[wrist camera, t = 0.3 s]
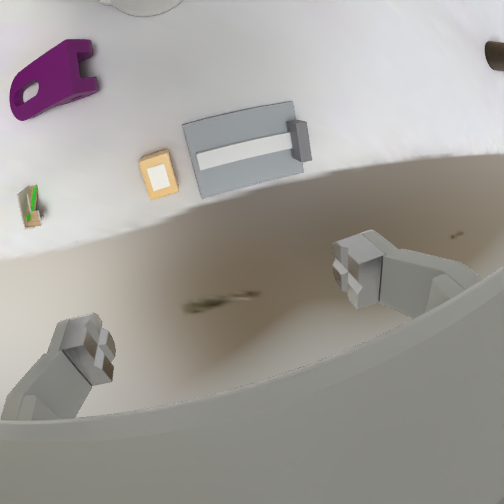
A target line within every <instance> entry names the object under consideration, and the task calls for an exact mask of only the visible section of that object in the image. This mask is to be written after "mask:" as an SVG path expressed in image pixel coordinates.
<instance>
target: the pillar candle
mask: <svg viewBox="0 0 504 504" xmlns="http://www.w3.org/2000/svg"><path fill="white" fill-rule="evenodd" d="M485 54H486V59H487V61H488V64H489V66H490V67H491V68H492V69H493V70H498V71H504V43H501V42H491V41H490V42H487V43H486V46H485Z"/></svg>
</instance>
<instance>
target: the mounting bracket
mask: <svg viewBox="0 0 504 504" xmlns="http://www.w3.org/2000/svg"><path fill="white" fill-rule="evenodd" d="M92 55H93V51H92V42H91V40H85V39H67V40H65V41H63V42H61V43H60V44H58V45H57V46H55V47H54V48H52V49H51V50H49V51H48V52H46V53H45V54H43V55H42V56H40V57H39V58H38V59H36V60H35V61H33V62H32V63H31V64H29V65H28V66H27V67H25V68H24V69H23V70H22V71H20V72H19V73H18V74H17V75H16V76H15V78H14V80H13V82H12V85H11V89H10V107H11V110H12V113H13V114H14V116H15V117H16V118H17V119H18V120H20V121H24V120H27V119H30V118H33V117H35V116H37V115H39V114H41V113H43V112H44V111H46V110H48V109H50V108H52V107H55V106H59V105H63V104H66V103H70V102H73V101H76V100H79V99H81V98H84V97H87V96H90V95H92V94H94V93H96V92H98V85H97V79H96V77H88V78H81V79H80V73H79V66H78V63H79V62H81V61H84V60H86V59H88V58H90V57H91V56H92ZM36 81H38V84H39V90H38V93H37V95H36V96H35V97H33V98H31V99H30V100H28V101H27V102H25V103H23V101H22V93H23V91H24V89H25V88H27V87H28V86H30V85H31V84H33V83H34V82H36Z"/></svg>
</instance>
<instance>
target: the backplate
mask: <svg viewBox="0 0 504 504" xmlns="http://www.w3.org/2000/svg"><path fill="white" fill-rule="evenodd" d="M183 128H184V132H185V136H186V140H187V144H188V148H189V152H190V155H191V159H192V163H193V167H194V171H195V174H196V178H197V182H198V185H199V189H200V193H201V196H202V199H203V198H206V197H210V196H213V195H217V194H220V193H224V192H228V191H231V190H235V189H239V188H243V187H246V186H250V185H254V184H258V183H262V182H266V181H270V180H274V179H278V178H282V177H286V176H291V175H295V174H299V173H303V172H304V169H303V162H306V161H311V160H312V157H311V150H310V142H309V135H308V129H307V122H305V121H300V120H296V117H295V111H294V105H293V102H285V103H279V104H273V105H267V106H261V107H256V108H251V109H246V110H241V111H236V112H232V113H227V114H223V115H219V116H215V117H210V118H206V119H202V120H199V121H195V122H191V123H187V124H184V125H183Z"/></svg>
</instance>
